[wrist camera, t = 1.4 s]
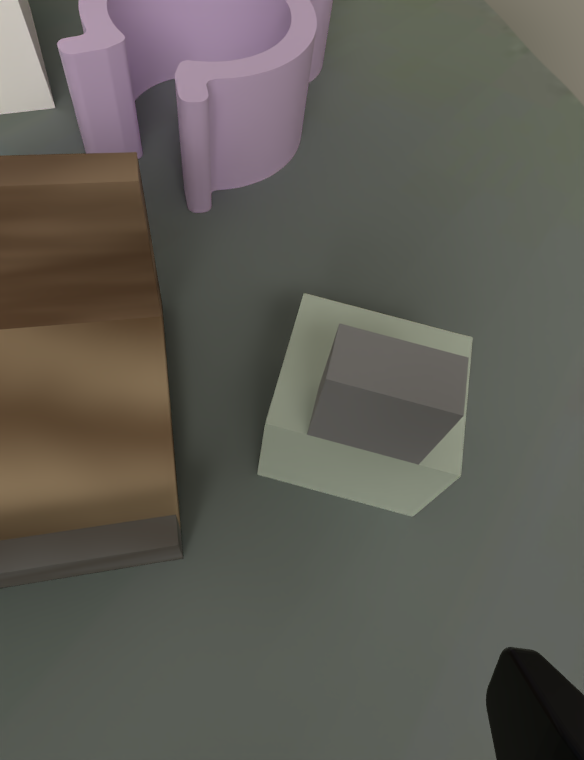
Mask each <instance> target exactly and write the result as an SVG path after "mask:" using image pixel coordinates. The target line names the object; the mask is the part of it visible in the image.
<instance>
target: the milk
mask: <svg viewBox="0 0 584 760" xmlns="http://www.w3.org/2000/svg"><path fill="white" fill-rule="evenodd" d="M50 108H55V104H54V100H53V96H52V92H51V88H50V84H49V81H48V77H47V73H46V69H45V65H44V61H43V57H42V53H41V49H40V45H39V41H38V37H37V33H36V29H35V25H34V21H33V17H32V13H31V9H30V6H29V3H28V0H0V114H6V113H15V112H24V111H33V110H41V109H50Z"/></svg>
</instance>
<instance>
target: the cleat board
mask: <svg viewBox="0 0 584 760" xmlns="http://www.w3.org/2000/svg"><path fill="white" fill-rule="evenodd" d="M182 558H183V550H182V538H181V526H180V514H179V502H178V490H177V478H176V466H175V454H174V441H173V429H172V417H171V405H170V393H169V381H168V369H167V357H166V345H165V333H164V321H163V309H162V300H161V294H160V288H159V282H158V276H157V270H156V264H155V258H154V252H153V246H152V240H151V234H150V228H149V222H148V216H147V210H146V204H145V198H144V193H143V187H142V181H141V175H140V169H139V163H138V157H137V152H126V153H87V154H48V155H10V156H0V588H4V587H11V586H17V585H23V584H29V583H35V582H41V581H47V580H53V579H60V578H66V577H72V576H78V575H84V574H90V573H96V572H103V571H109V570H115V569H121V568H127V567H133V566H139V565H145V564H152V563H158V562H164V561H170V560H176V559H182Z"/></svg>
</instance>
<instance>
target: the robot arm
mask: <svg viewBox="0 0 584 760" xmlns="http://www.w3.org/2000/svg"><path fill="white" fill-rule="evenodd" d="M486 707H487V713H488V718H489V723H490V728H491V733H492V738H493V743H494V748H495V753H496V759H497V760H584V695H583V694H582V693H581V692H580V691H579V690H578V689H577V688H576V687H575V686H574V685H573V684H571V683H570V682H569V681H568V680H567V679H566V678H565V677H564V676H563V675H562V674H561V673H560V672H559V671H558V670H557V669H556V668H554V667H553V666H552V665H551V664H550V663H549V662H548V661H547V660H546V659H545V658H544V657H543V656H542V655H540V654H539V653H538V652H536V651H534V650H530V649H522V648H514V647H508V648H505V649H504V650H503V651H502V653H501V655H500V657H499V660H498V662H497V665H496V668H495V670H494V673H493V675H492V678H491V681H490V683H489V686H488V689H487V694H486Z"/></svg>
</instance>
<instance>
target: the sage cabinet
mask: <svg viewBox="0 0 584 760" xmlns="http://www.w3.org/2000/svg"><path fill="white" fill-rule="evenodd" d="M472 338H473V337H469V336H465V335H461V334H457V333H454V332H450V331H446V330H442V329H439V328H435V327H431V326H427V325H423V324H420V323H416V322H412V321H408V320H404V319H401V318H397V317H393V316H389V315H385V314H382V313H378V312H374V311H370V310H366V309H363V308H359V307H355V306H351V305H347V304H344V303H340V302H336V301H332V300H328V299H325V298H321V297H317V296H313V295H309V294H306V293H304V294H303V297H302V301H301V304H300V308H299V311H298V314H297V318H296V321H295V325H294V328H293V331H292V335H291V338H290V341H289V345H288V348H287V352H286V355H285V358H284V362H283V365H282V369H281V372H280V375H279V379H278V382H277V385H276V389H275V392H274V396H273V399H272V402H271V406H270V409H269V413H268V416H267V419H266V423H265V428H264V435H263V441H262V447H261V453H260V459H259V466H258V472H257V475H261V476H264V477H268V478H272V479H275V480H279V481H283V482H286V483H290V484H294V485H297V486H301V487H305V488H308V489H312V490H316V491H320V492H323V493H327V494H331V495H334V496H338V497H342V498H345V499H349V500H353V501H356V502H360V503H364V504H367V505H371V506H375V507H378V508H382V509H386V510H390V511H393V512H397V513H401V514H404V515H408V516H412V517H413V516H414V515H415V514H417V513H418V512H419V511H420V510H421V509H423V508H424V507H425V506H426V505H427V504H428V503H430V502H431V501H432V500H433V499H434V498H436V497H437V496H438V495H439V494H440V493H441V492H443V491H444V490H445V489H446V488H447V487H449V486H450V485H451V484H452V483H453V482H454V481H456V480H457V479H458V478H459V477H460V476H461V469H462V457H463V445H464V433H465V421H466V409H467V397H468V385H469V374H470V362H471V350H472Z"/></svg>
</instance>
